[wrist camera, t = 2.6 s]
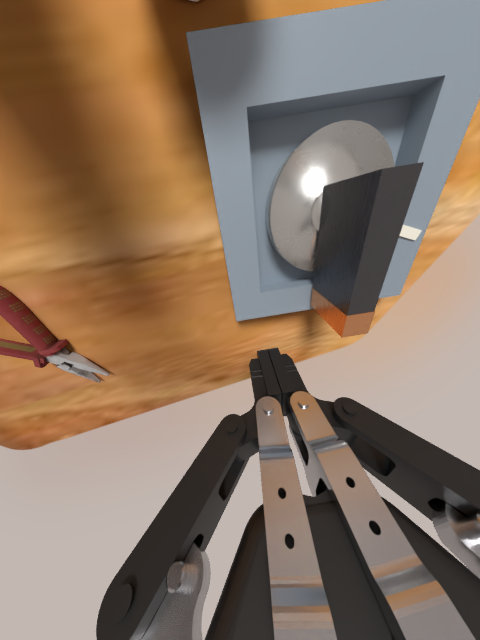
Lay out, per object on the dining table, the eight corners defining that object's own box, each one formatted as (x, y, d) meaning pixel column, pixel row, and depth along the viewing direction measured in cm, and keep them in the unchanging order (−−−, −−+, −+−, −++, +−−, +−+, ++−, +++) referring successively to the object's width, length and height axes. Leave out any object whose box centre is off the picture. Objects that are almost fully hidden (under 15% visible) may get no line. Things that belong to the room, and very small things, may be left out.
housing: (193, 67, 13) (185, 29, 10) (469, 23, 13) (533, -27, 11) (235, 310, 25) (236, 322, 22) (381, 286, 25) (401, 295, 22)
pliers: (90, 387, 31) (80, 400, 29) (-66, 316, 22) (-97, 327, 20) (128, 356, 28) (120, 368, 26) (-34, 259, 19) (-67, 265, 17)
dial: (261, 143, 15) (303, 66, 7) (392, 122, 15) (573, 22, 7) (269, 302, 24) (292, 345, 16) (352, 288, 24) (416, 325, 16)
